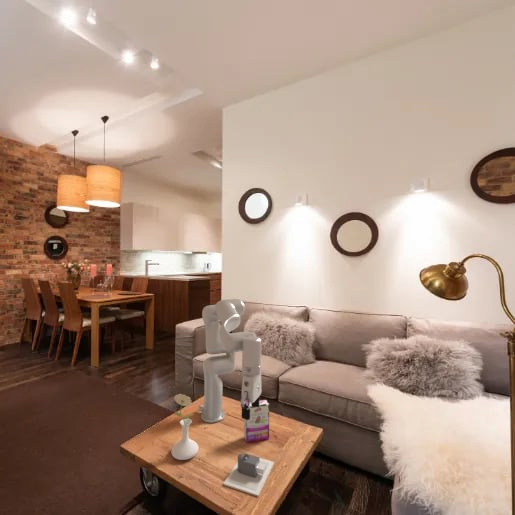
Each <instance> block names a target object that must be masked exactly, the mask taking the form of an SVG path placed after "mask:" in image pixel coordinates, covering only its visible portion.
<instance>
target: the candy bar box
mask: <svg viewBox="0 0 515 515" xmlns="http://www.w3.org/2000/svg"><path fill="white" fill-rule="evenodd" d="M245 404H246V405H248V402H245ZM249 409H250V419H249V420H247V419H243V420H244V422H243V423H244V427H243V428H244V432H243V433H244V439H245V442H246V443H248V444H249V443H252V442H258V441H265V440H269V439H270V403H269V402H268V400H267V399H259V407H254V406H252V403H250V407H249Z"/></svg>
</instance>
